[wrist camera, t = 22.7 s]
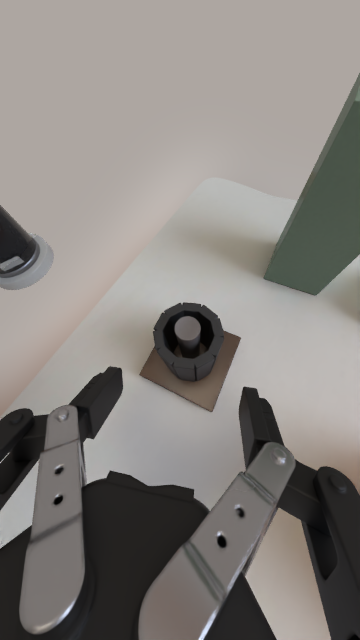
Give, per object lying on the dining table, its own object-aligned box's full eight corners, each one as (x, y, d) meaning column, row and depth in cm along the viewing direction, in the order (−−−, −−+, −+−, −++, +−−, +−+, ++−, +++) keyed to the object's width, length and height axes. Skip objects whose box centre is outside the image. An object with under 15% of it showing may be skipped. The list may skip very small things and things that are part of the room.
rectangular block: (263, 278, 28) (354, 100, 12) (277, 243, 31) (369, 52, 14) (316, 295, 27) (506, 115, 10) (326, 256, 29) (496, 58, 13)
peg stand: (141, 376, 24) (106, 356, 15) (174, 314, 27) (163, 265, 18) (211, 411, 22) (221, 415, 13) (239, 340, 25) (263, 300, 16)
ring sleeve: (158, 368, 23) (140, 350, 16) (180, 326, 25) (173, 293, 18) (203, 390, 22) (205, 382, 15) (222, 344, 24) (234, 316, 17)
